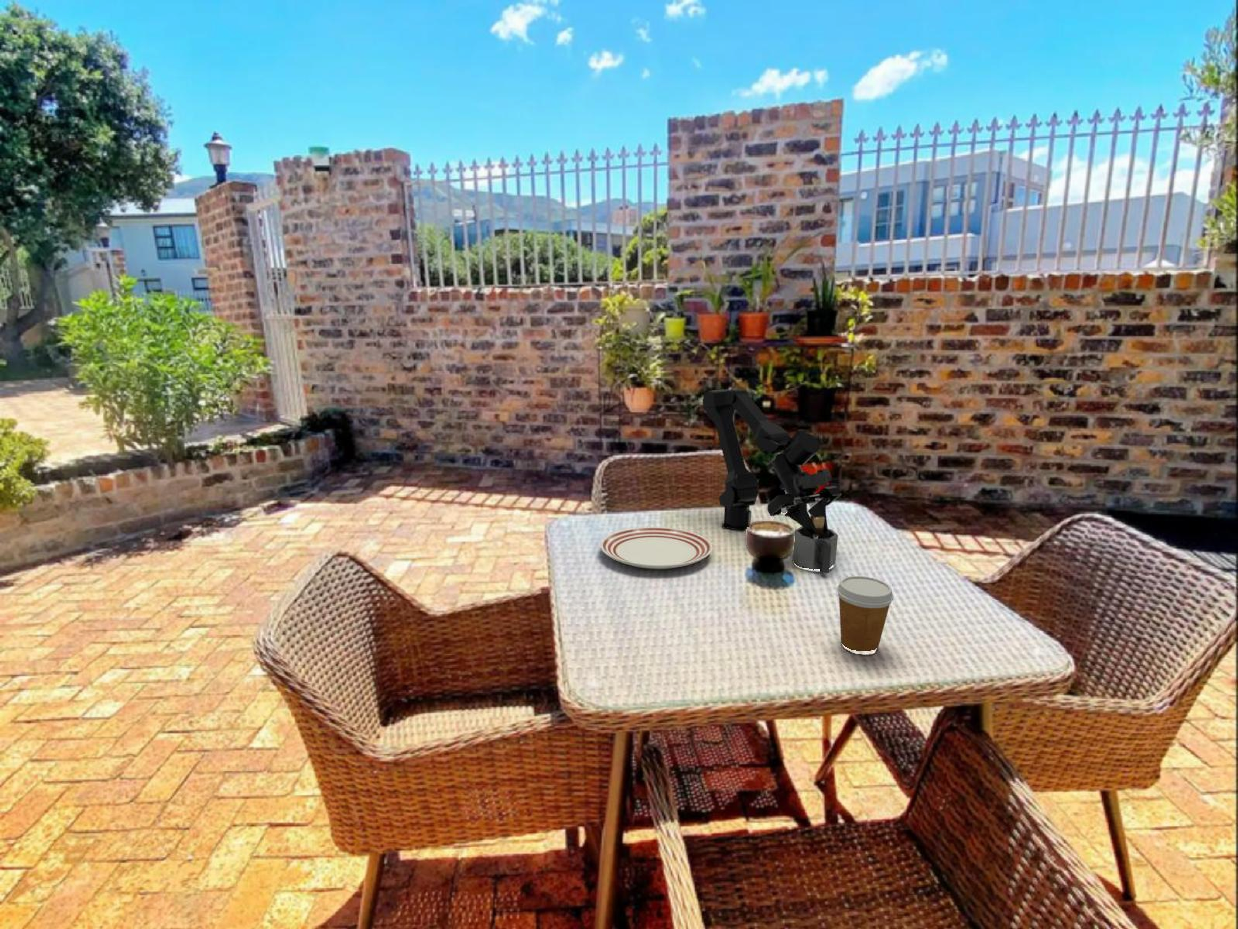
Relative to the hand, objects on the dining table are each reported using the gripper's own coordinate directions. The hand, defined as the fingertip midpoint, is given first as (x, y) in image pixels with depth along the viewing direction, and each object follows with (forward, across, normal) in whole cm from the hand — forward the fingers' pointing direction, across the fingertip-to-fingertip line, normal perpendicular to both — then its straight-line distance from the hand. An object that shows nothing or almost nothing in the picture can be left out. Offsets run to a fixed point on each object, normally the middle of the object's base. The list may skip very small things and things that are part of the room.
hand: (820, 532), depth 150 cm
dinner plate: (-10, -30, +23) cm, 40 cm away
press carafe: (+6, -1, +6) cm, 9 cm away
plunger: (+4, 0, +6) cm, 7 cm away
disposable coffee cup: (+28, -20, -16) cm, 38 cm away
